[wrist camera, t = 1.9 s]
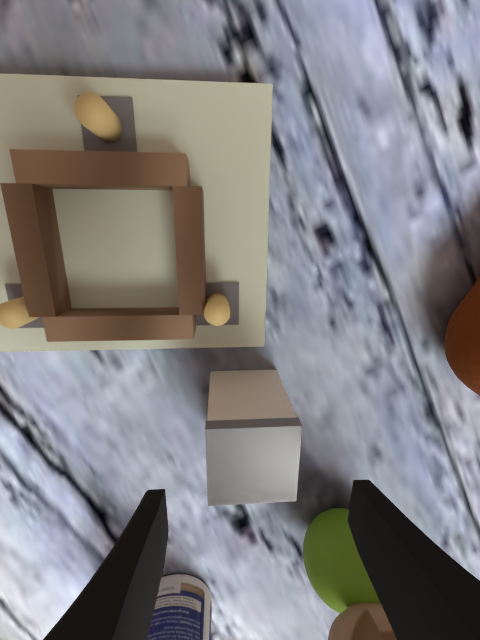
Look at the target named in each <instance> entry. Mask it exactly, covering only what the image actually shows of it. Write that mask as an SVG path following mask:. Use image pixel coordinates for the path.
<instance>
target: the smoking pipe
mask: <svg viewBox="0 0 480 640" xmlns="http://www.w3.org/2000/svg"><path fill="white" fill-rule="evenodd" d="M445 354H446V357H447V360H448V363H449V365H450V367H451V369H452V370H453V372H454V373H455V375H456V376H457V377H458V378H459V379H460V380H461V381H462V382H463V383H464V384H465V385H466V386H467V387H468V388H470V389H471V390H472V391H474V392H475V393H477V394H478V395H480V276H479V277H478V279H477V280H476V282H475V284H474V285H473V287H472V288H471V290H470V291H469V292H468V293H467V295H466V296H465V297H464V299H463V300H462V301H461V302H460V304H459V305H458V307H457V308H456V309H455V311H454V312H453V314H452V316H451V318H450V320H449V323H448V325H447V329H446V334H445Z"/></svg>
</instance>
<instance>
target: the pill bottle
mask: <svg viewBox="0 0 480 640" xmlns="http://www.w3.org/2000/svg"><path fill="white" fill-rule="evenodd" d="M211 605H212V602H211V593H210V591H209V589H208V587H207V586H206V585H205V584H204V583H203V582H202V581H201V580H199V579H197V578H195V577H193V576H190V575H185V574H175V575H168V576H164V577H162V578H161V581H160V586H159V590H158V595H157V599H156V604H155V608H154V613H153V617H152V622H151V626H150V631H149V635H148V640H211V619H212V606H211Z"/></svg>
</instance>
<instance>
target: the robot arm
mask: <svg viewBox="0 0 480 640" xmlns="http://www.w3.org/2000/svg"><path fill="white" fill-rule="evenodd" d="M348 524H349V527H350V530H351V533H352V536H353V539H354V542H355V545H356V548H357V551H358V553H359V556H360V558H361V560H362V563H363V565H364V567H365V569H366V572H367V574H368V576H369V578H370V581H371V583H372V585H373V587H374V589H375V592H376V594H377V596H378V598H379V601H380V603H381V605H382V607H383V609H384V612H385V614H386V616H387V618H388V621H389V623H390V625H391V627H392V630H393V632H394V634H395V637H396V639H397V640H480V581H479V580H478V579H477V578H475V577H474V576H473V575H472V574H470V573H469V572H468V571H467V570H465V569H464V568H463V567H462V566H461V565H459V564H458V563H457V562H456V561H455V560H453V559H452V558H451V557H450V556H449V555H448V554H446V553H445V552H444V551H443V550H442V549H441V548H440V547H438V546H437V545H436V544H435V543H434V542H433V541H432V540H431V539H430V538H428V537H427V536H426V535H425V534H424V533H423V532H422V531H421V530H420V529H419V528H418V527H417V526H416V525H414V524H413V523H412V522H411V521H410V520H409V519H408V518H407V517H406V516H405V515H404V514H403V513H402V512H401V511H400V510H399V509H398V508H397V507H396V506H395V505H394V504H393V503H392V502H391V501H390V500H389V499H388V498H387V497H386V496H385V495H384V494H383V493H382V492H381V491H380V490H379V489H378V488H377V487H376V486H375V485H374V484H373V483H372V482H371V481H370V480H353V487H352V494H351V501H350V508H349V515H348ZM167 539H168V519H167V507H166V496H165V489H158V490H148V491H147V492H146V493H145V495H144V496H143V498H142V500H141V502H140V504H139V506H138V507H137V509H136V511H135V513H134V514H133V516H132V518H131V520H130V521H129V523H128V525H127V526H126V528H125V529H124V531H123V533H122V534H121V536H120V537H119V539H118V540H117V542H116V543H115V545H114V547H113V548H112V550H111V551H110V553H109V554H108V556H107V557H106V559H105V560H104V561H103V563H102V564H101V566H100V567H99V569H98V570H97V571H96V573H95V574H94V576H93V577H92V579H91V580H90V581H89V583H88V584H87V585H86V587H85V588H84V589H83V591H82V592H81V593H80V595H79V596H78V597H77V599H76V600H75V601H74V602H73V604H72V605H71V606H70V608H69V609H68V610H67V611H66V613H65V614H64V615H63V616H62V618H61V619H60V620H59V621H58V622H57V624H56V625H55V626H54V627H53V628H52V630H51V631H50V632H49V633H48V634H47V636H46V637H45V638H44V639H43V640H148V635H149V631H150V626H151V622H152V617H153V613H154V608H155V604H156V599H157V595H158V590H159V586H160V581H161V576H162V572H163V567H164V562H165V554H166V547H167Z"/></svg>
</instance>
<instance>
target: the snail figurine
mask: <svg viewBox="0 0 480 640" xmlns="http://www.w3.org/2000/svg"><path fill="white" fill-rule="evenodd" d="M348 515H349V509H345V508H332V509H328V510H326V511H324V512H322V513H320V514H319V515H318V516H316V517H315V518H314V520H313V521H312V522H311V524H310V525H309V527H308V529H307V531H306V534H305V538H304V544H303V559H304V565H305V569H306V573H307V575H308V578H309V580H310V583H311V585H312V586H313V588H314V590H315V591H316V593H317V594H318V596H319V597H320V598H321V599H322V600H323V601H324V602H325V603H326V604H327V605H328V606H329V607H330V608H332V609H333V610H335V611H336V612H338V613H340V614H339V615H338V616H337V617H336V618H335V620H334V621H333V623H332V625H331V628H330V632H329V637H328V640H397V639H396V637H395V634H394V632H393V630H392V627H391V625H390V623H389V621H388V618H387V616H386V614H385V612H384V609H383V607H382V605H381V603H380V601H379V598H378V596H377V594H376V592H375V589H374V587H373V585H372V583H371V581H370V578H369V576H368V574H367V572H366V569H365V567H364V565H363V563H362V560H361V558H360V556H359V553H358V551H357V548H356V545H355V542H354V539H353V536H352V533H351V530H350V527H349V524H348Z"/></svg>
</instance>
